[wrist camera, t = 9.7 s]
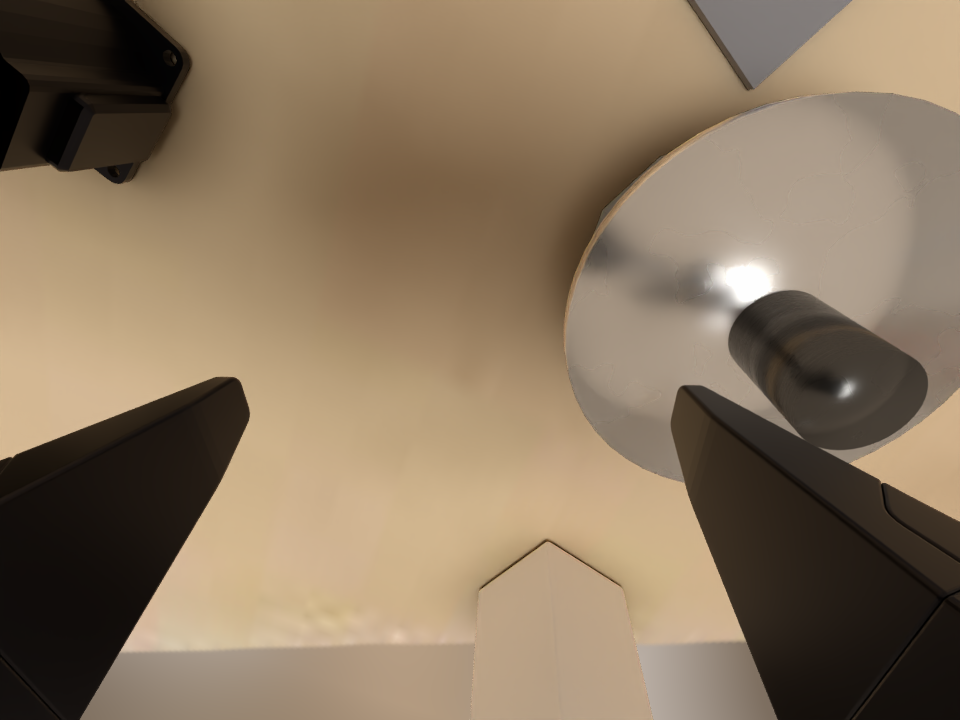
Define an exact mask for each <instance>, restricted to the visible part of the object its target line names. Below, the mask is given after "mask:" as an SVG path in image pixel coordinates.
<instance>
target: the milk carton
mask: <svg viewBox="0 0 960 720" xmlns="http://www.w3.org/2000/svg"><path fill="white" fill-rule="evenodd" d="M473 670H474V671H473V683H472V684H473V685H472V699H471V714H470V720H653V716H652V712H651V708H650V703H649V699H648V695H647V691H646V686H645V682H644V678H643V673H642V669H641V665H640V660H639V656H638V652H637V647H636V643H635V639H634V634H633V630H632V626H631V622H630V617H629V613H628V609H627V604H626V600H625V596H624V592H623V589H622V588H621V587H620V586H618V585H617V584H615V583H614V582H612V581H611V580H609V579H608V578H606V577H604V576H603V575H601V574H600V573H598V572H596V571H595V570H593V569H592V568H590V567H589V566H587V565H585V564H584V563H582V562H581V561H579V560H578V559H576V558H574V557H573V556H571V555H570V554H568V553H566V552H565V551H563V550H562V549H560V548H559V547H557V546H555V545H554V544H552V543H550V542H546V543H544V544H543V545H541V546H540V547H539V548H537V549H536V550H534V551H533V552H532V553H530V554H529V555H527V556H526V557H525V558H523V559H522V560H521V561H519V562H518V563H516V564H515V565H514V566H512V567H511V568H509V569H508V570H507V571H505V572H504V573H503V574H501V575H500V576H498V577H497V578H496V579H494V580H493V581H492V582H490V583H489V584H487V585H486V586H485V587H483V588H482V589H481V590H480V591H479V595H478V609H477V624H476V639H475V655H474V669H473Z"/></svg>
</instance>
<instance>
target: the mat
mask: <svg viewBox="0 0 960 720" xmlns="http://www.w3.org/2000/svg"><path fill="white" fill-rule="evenodd" d="M688 1H689V3H690V4H691V6H692V7H693V9H694V10H695V12H696V13H697V15H698V16H699V18H700V19H701V21H702V22H703V24H704V25H705V27H706V28H707V30H708V31H709V33H710V34H711V36H712V37H713V39H714V40H715V42H716V43H717V45H718V46H719V48H720V49H721V51H722V52H723V54H724V55H725V56H726V58H727V59H728V61H729V62H730V64H731V65H732V67H733V68H734V70H735V71H736V73H737V74H738V76H739V77H740V79H741V80H742V82H743V83H744V85H745V86H746V88H747V89H748V90H750V89H755V88H756V87H757V86H758V85H759V84H760V83H761V82H763V81H764V80H765V79H766V78H767V77H768V76H769V75H770V74H771V73H772V72H774V71H775V70H776V69H777V68H778V67H779V66H780V65H781V64H782V63H784V62H785V61H786V60H787V59H788V58H789V57H790V56H791V55H792V54H793V53H795V52H796V51H797V50H798V49H799V48H800V47H801V46H802V45H803V44H804V43H806V42H807V41H808V40H809V39H810V38H811V37H812V36H813V35H814V34H816V33H817V32H818V31H819V30H820V29H821V28H822V27H823V26H824V25H825V24H827V23H828V22H829V21H830V20H831V19H832V18H833V17H834V16H835V15H836V14H838V13H839V12H840V11H841V10H842V9H843V8H844V7H845V6H846V5H848V4H849V3H850V2H851V1H852V0H688Z"/></svg>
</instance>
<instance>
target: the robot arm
mask: <svg viewBox="0 0 960 720" xmlns="http://www.w3.org/2000/svg"><path fill="white" fill-rule="evenodd" d="M172 52H173V53H174V55H175V56H176V59H177V62H176V65H175V66H174V65H173V64H172V62H171V60H170V54H171V53H172ZM189 66H190V62H189V57H188V55H187V53H186V52H185V50H184V49H183V48H182V47H181V46H180V45H179V44H178V43H177V42H175V41H174V40H173V39H172V38H171V37H170V36H169V35H168V34H167V33H166V32H164V31H163V30H162V29H161V28H160V27H159V26H158V25H157V24H156V23H155V22H154V21H152V20H151V19H150V18H149V17H148V16H147V15H146V14H145V13H144V12H143V11H141V10H140V9H139V8H138V7H137V6H136V5H135V4H134V3H133V2H132V1H130V0H0V171H6V170H14V169H23V168H31V167H39V166H47V165H51V166H53V167H54V168H55V169H57V170H58V171H60V172H71V171H78V170H85V169H92V168H94V169H95V170H97V171H98V172H99V173H100V174H102V175H103V176H104V177H106V178H107V179H108V180H110V181H111V182H113V183H117V184H120V183H126V182H129V181H130V180H131V179H132V178H133V176H134V174H135V172H136V170H137V168H138V166H139V164H140V162H141V161H146V160H148V158H149V156H150V154H151V152H152V150H153V148H154V147H155V145H156V143H157V141H158V139H159V137H160V135H161V133H162V131H163V129H164V128H165V126H166V124H167V122H168V120H169V118H170V116H171V114H172V113H171V106H170V105H171V103H172V101H173V99H174V97H175V95H176V93H177V91H178V89H179V87H180V85H181V84H182V82H183V80H184V78H185V76H186V74H187V72H188V70H189ZM115 166H116V167H117V168H118V169H119V172H120V175H118V174H117V173H116V171H115ZM249 417H250V410H249V407H248V403H247V400H246V397H245V394H244V391H243V388H242V385H241V382H240V381H239V380H238V379H237V378H235V377H215V378H212V379H209V380H207V381H204V382H202V383H199V384H196V385H194V386H191V387H189V388H186V389H184V390H181V391H178V392H176V393H173V394H171V395H168V396H166V397H163V398H160V399H158V400H155V401H153V402H150V403H148V404H145V405H142V406H140V407H137V408H135V409H132V410H129V411H127V412H124V413H122V414H119V415H117V416H114V417H111V418H109V419H106V420H104V421H101V422H99V423H96V424H93V425H91V426H88V427H86V428H83V429H80V430H78V431H75V432H73V433H70V434H68V435H65V436H62V437H60V438H57V439H55V440H52V441H50V442H47V443H44V444H42V445H39V446H37V447H34V448H32V449H29V450H26V451H24V452H21V453H19V454H16V455H15V456H14V457H13V458H12V457H8V458H6V459H3V460H0V720H80V718H81V716H82V715H83V713H84V711H85V710H86V708H87V706H88V705H89V703H90V701H91V700H92V698H93V696H94V695H95V693H96V691H97V689H98V688H99V686H100V684H101V683H102V681H103V679H104V678H105V676H106V674H107V673H108V671H109V669H110V668H111V666H112V664H113V663H114V661H115V659H116V657H117V656H118V654H119V652H120V651H121V649H122V647H123V646H124V644H125V642H126V641H127V639H128V637H129V636H130V634H131V632H132V631H133V629H134V627H135V626H136V624H137V622H138V620H139V619H140V617H141V615H142V614H143V612H144V610H145V609H146V607H147V605H148V604H149V602H150V600H151V599H152V597H153V595H154V594H155V592H156V590H157V588H158V587H159V585H160V583H161V582H162V580H163V578H164V577H165V575H166V573H167V572H168V570H169V568H170V567H171V565H172V563H173V562H174V560H175V558H176V556H177V555H178V553H179V551H180V550H181V548H182V546H183V545H184V543H185V541H186V540H187V538H188V536H189V535H190V533H191V531H192V530H193V528H194V526H195V524H196V523H197V521H198V519H199V518H200V516H201V514H202V513H203V511H204V509H205V508H206V506H207V504H208V503H209V501H210V499H211V498H212V496H213V494H214V492H215V491H216V489H217V487H218V485H219V484H220V482H221V480H222V478H223V476H224V474H225V472H226V470H227V467H228V465H229V463H230V461H231V459H232V456H233V454H234V452H235V450H236V448H237V446H238V443H239V441H240V439H241V437H242V435H243V432H244V430H245V428H246V426H247V424H248V421H249ZM671 432H672V436H673V440H674V444H675V447H676V451H677V455H678V459H679V463H680V466H681V470H682V474H683V478H684V482H685V485H686V489H687V492H688V496H689V498H690V501H691V504H692V507H693V509H694V512H695V514H696V517H697V519H698V522H699V524H700V527H701V529H702V532H703V534H704V537H705V539H706V542H707V544H708V547H709V549H710V552H711V554H712V557H713V559H714V562H715V564H716V567H717V569H718V572H719V574H720V577H721V579H722V582H723V584H724V587H725V589H726V592H727V594H728V597H729V599H730V602H731V604H732V607H733V609H734V612H735V614H736V617H737V619H738V622H739V624H740V627H741V629H742V632H743V634H744V637H745V639H746V642H747V644H748V647H749V649H750V652H751V654H752V656H753V659H754V662H755V664H756V667H757V669H758V672H759V674H760V677H761V679H762V682H763V684H764V687H765V689H766V692H767V694H768V697H769V699H770V702H771V704H772V707H773V709H774V712H775V714H776V717H777V719H778V720H960V522H959V521H957V520H955V519H953V518H951V517H949V516H947V515H945V514H944V513H942V512H940V511H938V510H936V509H934V508H932V507H930V506H928V505H926V504H924V503H922V502H920V501H918V500H916V499H915V498H913V497H911V496H909V495H907V494H905V493H903V492H901V491H899V490H898V489H896V488H894V487H892V486H890V485H888V484H886V483H882V484H881V481H880V480H879V479H877V478H875V477H873V476H871V475H869V474H867V473H866V472H864V471H862V470H860V469H858V468H856V467H854V466H852V465H851V464H849V463H847V462H845V461H843V460H841V459H839V458H837V457H836V456H834V455H832V454H830V453H828V452H826V451H824V450H823V449H821V448H819V447H817V446H815V445H813V444H811V443H809V442H808V441H806V440H804V439H802V438H800V437H798V436H796V435H794V434H793V433H791V432H789V431H787V430H785V429H783V428H781V427H779V426H778V425H776V424H774V423H772V422H770V421H768V420H766V419H764V418H763V417H761V416H759V415H757V414H755V413H753V412H751V411H750V410H748V409H746V408H744V407H742V406H740V405H738V404H736V403H735V402H733V401H731V400H729V399H727V398H725V397H723V396H721V395H720V394H718V393H716V392H714V391H712V390H710V389H708V388H706V387H705V386H702V385H682V386H681V387H679V389H678V391H677V395H676V399H675V403H674V408H673V412H672V416H671Z"/></svg>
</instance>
